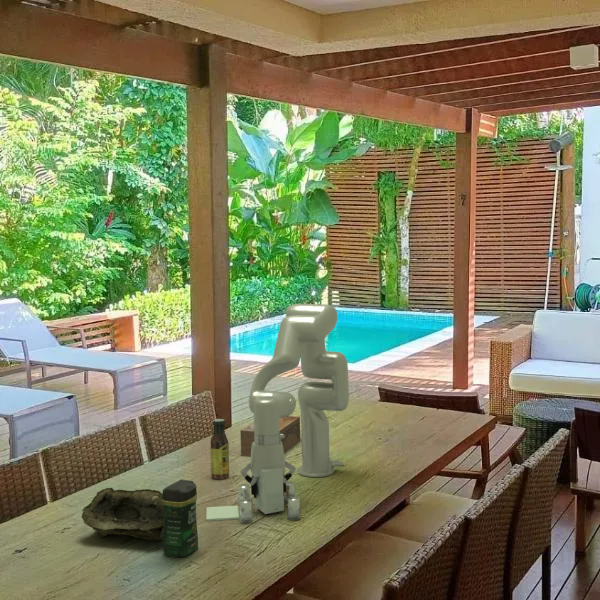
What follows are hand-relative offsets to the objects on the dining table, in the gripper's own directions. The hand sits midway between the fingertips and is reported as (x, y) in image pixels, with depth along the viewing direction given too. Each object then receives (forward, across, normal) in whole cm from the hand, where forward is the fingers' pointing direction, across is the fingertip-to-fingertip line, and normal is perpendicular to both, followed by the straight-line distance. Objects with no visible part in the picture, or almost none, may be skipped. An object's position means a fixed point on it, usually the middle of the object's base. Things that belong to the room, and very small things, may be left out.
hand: (268, 495), depth 246 cm
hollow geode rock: (+5, +39, +15) cm, 42 cm away
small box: (+4, 0, 0) cm, 4 cm away
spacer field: (+5, 0, 0) cm, 5 cm away
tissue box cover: (+6, -6, -68) cm, 69 cm away
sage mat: (+5, +14, 0) cm, 15 cm away
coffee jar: (+4, +25, +26) cm, 37 cm away
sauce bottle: (+5, +14, -36) cm, 39 cm away
